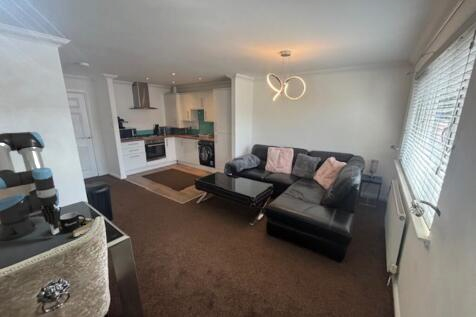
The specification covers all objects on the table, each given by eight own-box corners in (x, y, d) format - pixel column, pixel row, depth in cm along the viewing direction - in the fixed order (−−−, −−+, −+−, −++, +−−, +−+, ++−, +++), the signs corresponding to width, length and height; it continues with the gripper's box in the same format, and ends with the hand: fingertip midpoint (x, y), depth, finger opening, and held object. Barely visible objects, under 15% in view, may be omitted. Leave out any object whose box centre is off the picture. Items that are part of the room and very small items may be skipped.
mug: (63, 236, 116) (59, 220, 114) (61, 230, 122) (58, 215, 120) (87, 228, 125) (85, 213, 123) (85, 222, 131) (82, 209, 129)
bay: (52, 233, 119) (50, 227, 119) (75, 221, 133) (74, 216, 132) (75, 238, 115) (74, 232, 114) (97, 225, 128) (96, 219, 127)
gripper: (30, 197, 106) (39, 235, 112) (48, 199, 104) (57, 238, 109) (46, 191, 114) (54, 228, 119) (63, 194, 111) (71, 231, 116)
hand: (55, 233), depth 114 cm, fingers closed
